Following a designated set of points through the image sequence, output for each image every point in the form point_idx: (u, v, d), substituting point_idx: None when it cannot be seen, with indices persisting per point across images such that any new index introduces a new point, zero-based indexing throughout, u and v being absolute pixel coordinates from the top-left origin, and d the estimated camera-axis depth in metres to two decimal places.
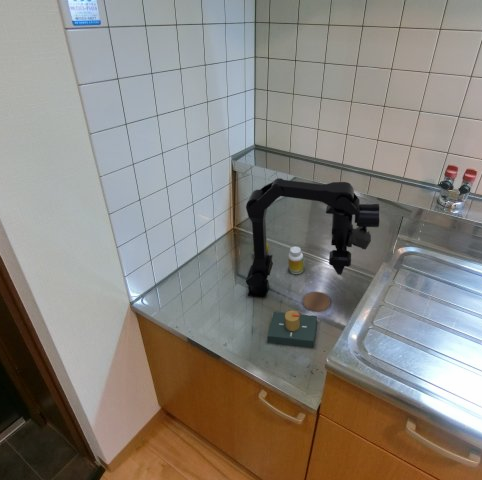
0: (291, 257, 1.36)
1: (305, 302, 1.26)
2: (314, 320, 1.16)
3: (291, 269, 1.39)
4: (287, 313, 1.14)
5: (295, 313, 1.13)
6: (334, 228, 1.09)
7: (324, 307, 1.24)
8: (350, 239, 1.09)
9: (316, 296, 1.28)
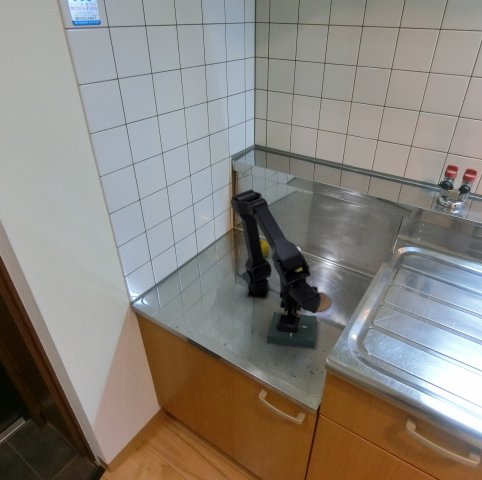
0: None
1: None
2: (314, 320, 1.16)
3: None
4: None
5: None
6: (282, 292, 1.05)
7: (324, 307, 1.24)
8: (298, 303, 1.05)
9: None
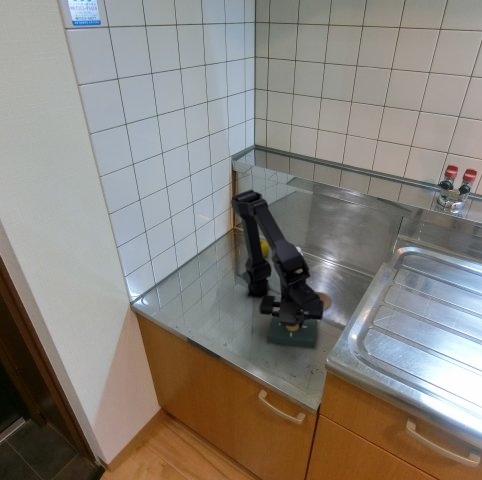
0: None
1: None
2: (314, 320, 1.16)
3: None
4: None
5: None
6: None
7: (324, 307, 1.24)
8: (280, 302, 1.07)
9: None
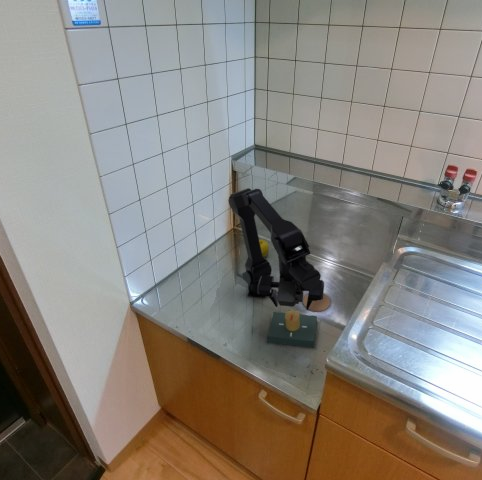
0: None
1: (305, 302, 1.26)
2: (314, 320, 1.16)
3: None
4: (295, 312, 1.14)
5: (294, 318, 1.12)
6: None
7: (324, 307, 1.24)
8: (279, 282, 1.03)
9: None
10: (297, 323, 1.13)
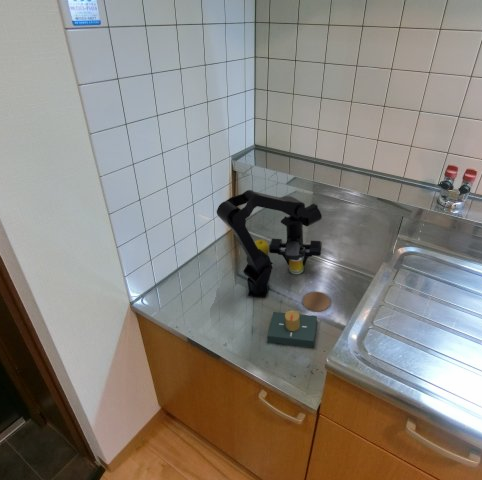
0: None
1: (305, 302, 1.26)
2: (314, 320, 1.16)
3: (291, 269, 1.39)
4: (295, 312, 1.14)
5: (294, 318, 1.12)
6: None
7: (324, 307, 1.24)
8: None
9: (316, 296, 1.28)
10: (297, 323, 1.13)
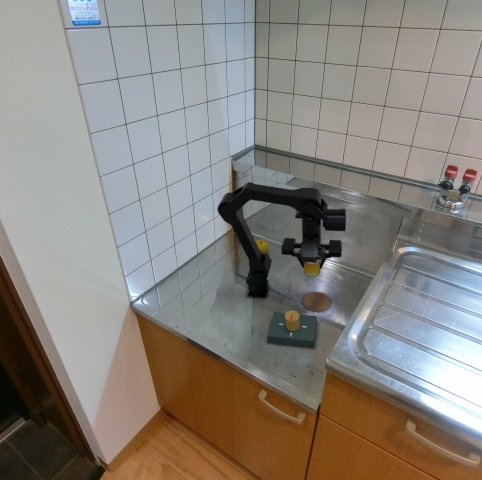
0: None
1: (305, 302, 1.26)
2: (314, 320, 1.16)
3: (306, 273, 1.21)
4: (295, 312, 1.14)
5: (294, 318, 1.12)
6: None
7: (324, 307, 1.24)
8: None
9: (316, 296, 1.28)
10: (297, 323, 1.13)
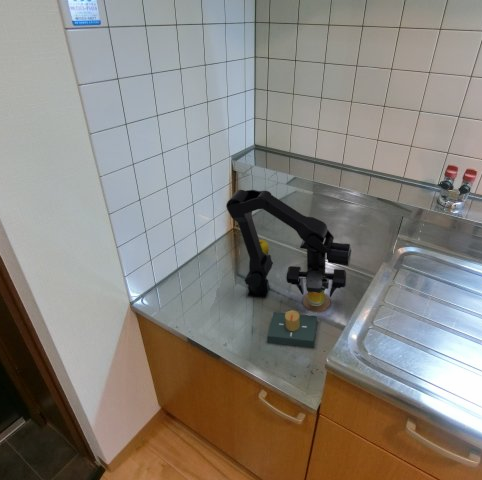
0: None
1: (305, 302, 1.26)
2: (314, 320, 1.16)
3: (310, 301, 1.24)
4: (295, 312, 1.14)
5: (294, 318, 1.12)
6: None
7: (324, 307, 1.24)
8: None
9: None
10: (297, 323, 1.13)
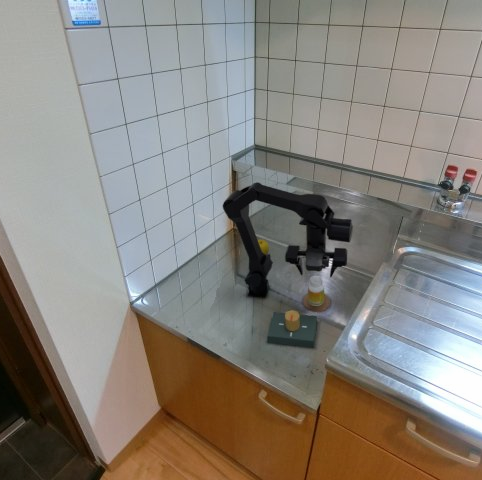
0: (311, 288, 1.21)
1: (305, 302, 1.26)
2: (314, 320, 1.16)
3: (310, 301, 1.24)
4: (295, 312, 1.14)
5: (294, 318, 1.12)
6: None
7: (324, 307, 1.24)
8: (306, 249, 1.11)
9: None
10: (297, 323, 1.13)
